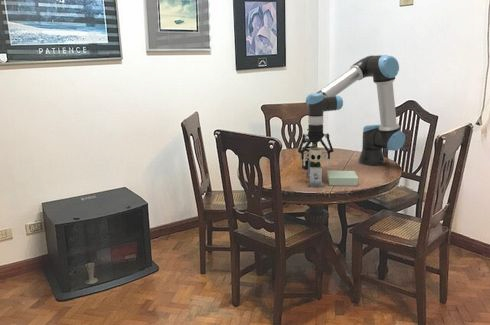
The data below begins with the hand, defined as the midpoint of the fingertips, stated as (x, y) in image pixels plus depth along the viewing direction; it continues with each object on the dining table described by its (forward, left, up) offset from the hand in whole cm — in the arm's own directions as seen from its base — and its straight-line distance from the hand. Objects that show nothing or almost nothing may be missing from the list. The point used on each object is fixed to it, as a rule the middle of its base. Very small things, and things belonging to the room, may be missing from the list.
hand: (315, 165), depth 238 cm
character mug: (0, 0, -4) cm, 4 cm away
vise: (0, 0, -8) cm, 8 cm away
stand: (-14, +2, -8) cm, 16 cm away
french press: (+1, -28, -8) cm, 29 cm away
